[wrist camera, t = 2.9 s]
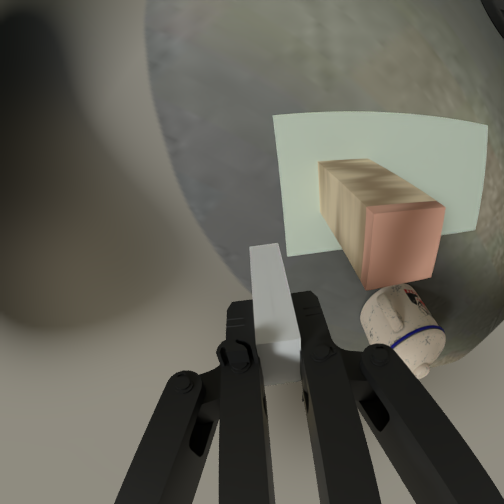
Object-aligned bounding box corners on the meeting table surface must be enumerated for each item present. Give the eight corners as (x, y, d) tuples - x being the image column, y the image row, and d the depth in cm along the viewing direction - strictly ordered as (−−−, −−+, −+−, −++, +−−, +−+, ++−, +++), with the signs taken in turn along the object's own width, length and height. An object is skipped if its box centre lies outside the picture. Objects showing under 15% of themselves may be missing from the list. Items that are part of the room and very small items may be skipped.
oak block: (367, 158, 23) (445, 207, 13) (367, 207, 26) (431, 277, 15) (317, 161, 23) (373, 214, 13) (319, 212, 26) (365, 290, 16)
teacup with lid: (422, 305, 34) (459, 365, 24) (372, 339, 37) (397, 404, 27) (397, 252, 29) (449, 320, 19) (335, 295, 32) (365, 374, 22)
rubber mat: (485, 124, 20) (487, 125, 20) (473, 228, 28) (474, 230, 27) (272, 115, 22) (273, 115, 21) (286, 254, 29) (287, 256, 28)
